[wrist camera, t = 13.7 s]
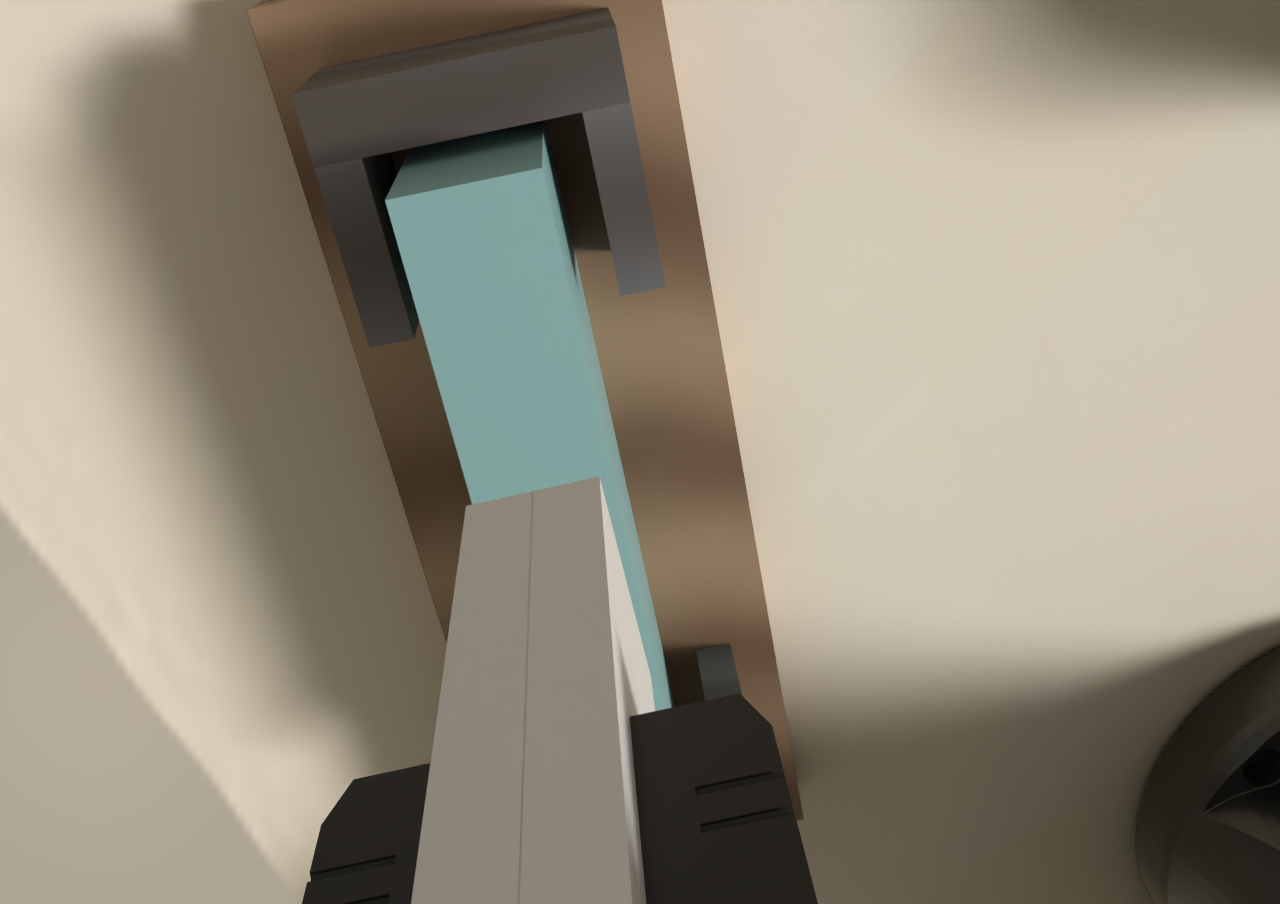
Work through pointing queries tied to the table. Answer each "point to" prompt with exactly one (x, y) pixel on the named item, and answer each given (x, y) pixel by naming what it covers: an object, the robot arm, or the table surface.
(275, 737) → the table surface
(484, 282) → the slat
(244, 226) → the table surface
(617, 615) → the robot arm
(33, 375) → the table surface
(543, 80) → the frame
